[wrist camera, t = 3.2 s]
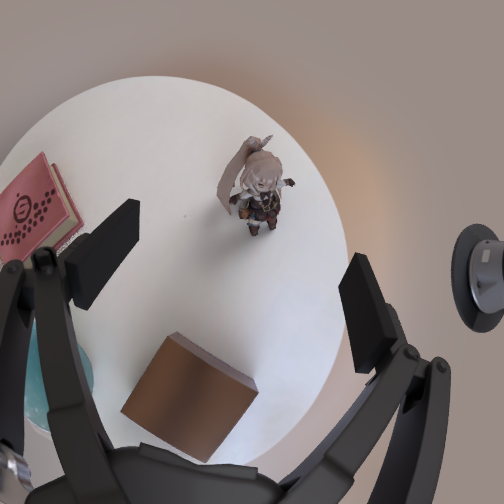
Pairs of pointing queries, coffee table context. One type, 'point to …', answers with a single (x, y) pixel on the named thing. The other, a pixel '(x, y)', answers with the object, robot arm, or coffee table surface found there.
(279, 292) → the coffee table surface
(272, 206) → the toy
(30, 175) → the book
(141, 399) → the walnut block
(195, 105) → the coffee table surface
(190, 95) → the coffee table surface
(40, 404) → the bowl
